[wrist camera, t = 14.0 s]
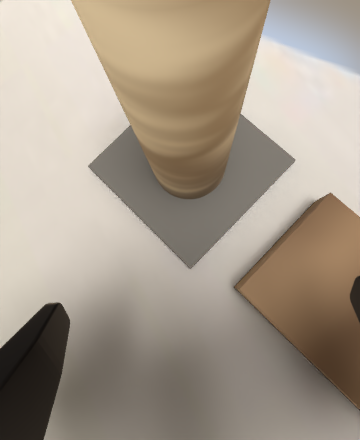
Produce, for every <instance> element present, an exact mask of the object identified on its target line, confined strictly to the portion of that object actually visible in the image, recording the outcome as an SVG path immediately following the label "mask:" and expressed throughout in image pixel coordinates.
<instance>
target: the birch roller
mask: <svg viewBox="0 0 360 440" xmlns="http://www.w3.org/2000/svg"><path fill="white" fill-rule="evenodd" d="M71 1H72V3H73V5H74V8H75V10H76V12H77V14H78V16H79V18H80V20H81V22H82V24H83V26H84V28H85V30H86V33H87V35H88V37H89V39H90V41H91V43H92V45H93V47H94V49H95V51H96V53H97V56H98V58H99V60H100V62H101V64H102V66H103V68H104V70H105V72H106V74H107V76H108V79H109V81H110V83H111V85H112V87H113V89H114V91H115V93H116V95H117V97H118V99H119V102H120V104H121V106H122V108H123V110H124V112H125V114H126V116H127V118H128V120H129V122H130V124H131V127H132V129H133V131H134V133H135V135H136V137H137V139H138V141H139V143H140V145H141V147H142V150H143V152H144V154H145V156H146V158H147V160H148V162H149V164H150V166H151V168H152V170H153V173H154V175H155V177H156V179H157V181H158V182H159V184H160V185H161V187H162V188H163V189H164V190H165V191H166V192H168V193H169V194H171V195H173V196H175V197H178V198H182V199H197V198H200V197H203V196H205V195H207V194H209V193H211V192H212V191H213V190H214V189H215V188H216V187H217V186H218V185H219V184H220V182H221V180H222V178H223V176H224V173H225V169H226V165H227V162H228V158H229V154H230V150H231V147H232V143H233V139H234V135H235V132H236V128H237V124H238V120H239V117H240V113H241V109H242V105H243V102H244V98H245V94H246V90H247V87H248V83H249V79H250V75H251V72H252V68H253V64H254V60H255V57H256V53H257V49H258V45H259V41H260V38H261V34H262V30H263V26H264V22H265V19H266V15H267V11H268V8H269V4H270V0H71Z"/></svg>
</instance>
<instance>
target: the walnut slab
mask: <svg viewBox="0 0 360 440" xmlns="http://www.w3.org/2000/svg"><path fill="white" fill-rule="evenodd" d="M357 276H360V217H359V216H358V215H357V214H355V213H354V212H353V211H352V210H351V209H349V208H348V207H347V206H346V205H345V204H343V203H342V202H341V201H340V200H339V199H338V198H336V197H335V196H334V195H333V194H332V193H329V194H327V195H326V196H324V197H322V198H320V199H319V200H317V201H315V202H314V203H313V204H312V205H311V206H310V207H309V208H308V209H307V210H306V212H305V213H304V214H303V215H302V216H301V217H300V218H299V219H298V220H297V221H296V222H295V223H294V224H293V225H292V226H291V227H290V228H289V230H288V231H287V232H286V233H285V234H284V235H283V236H282V237H281V238H280V239H279V240H278V241H277V242H276V243H275V244H274V245H273V246H272V247H271V249H270V250H269V251H268V252H267V253H266V254H265V255H264V256H263V257H262V258H261V259H260V260H259V261H258V262H257V263H256V264H255V265H254V266H253V268H252V269H251V270H250V271H249V272H248V273H247V274H246V275H245V276H244V277H243V278H242V279H241V280H240V281H239V282H238V283H237V284H236V285H235V287H234V288H235V289H236V290H237V291H238V292H239V293H241V294H242V295H243V296H244V297H245V298H246V299H247V300H248V301H249V302H250V303H251V304H252V305H253V306H254V307H255V308H256V309H257V310H258V311H259V312H260V313H261V314H262V315H263V316H264V317H265V318H266V319H267V320H268V321H269V322H270V323H271V324H272V325H273V326H274V327H275V328H276V329H277V330H278V331H279V332H280V333H281V334H282V335H283V336H284V337H285V338H286V339H288V340H289V341H290V342H291V343H292V344H293V345H294V346H295V347H296V348H297V349H298V350H299V351H300V352H301V353H302V354H303V355H304V356H305V357H306V358H307V359H308V360H309V361H310V362H311V363H312V364H313V365H314V366H315V367H316V368H317V369H318V370H319V371H320V372H321V373H322V374H323V375H324V376H325V377H326V378H327V379H328V380H329V381H330V382H331V383H332V384H334V385H335V386H336V387H337V388H338V389H339V390H340V391H341V392H342V393H343V394H344V395H345V396H346V397H347V398H348V399H349V400H350V401H351V402H352V403H353V404H354V405H355V406H356V407H357V408H358V409H359V410H360V323H359V321H358V318H357V316H356V313H355V311H354V309H353V306H352V304H351V301H350V292H351V289H352V286H353V283H354V280H355V278H356V277H357Z"/></svg>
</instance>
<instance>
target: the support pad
mask: <svg viewBox="0 0 360 440" xmlns="http://www.w3.org/2000/svg"><path fill="white" fill-rule="evenodd" d="M294 161H295V159H294V158H293V157H292V156H290V155H289V154H288V153H287V152H286V151H284V150H283V149H282V148H281V147H280V146H278V145H277V144H276V143H275V142H274V141H273V140H271V139H270V138H269V137H268V136H267V135H265V134H264V133H263V132H262V131H261V130H259V129H258V128H257V127H256V126H255V125H253V124H252V123H251V122H250V121H249V120H247V119H246V118H245V117H244V116H243V115H241V114H240V117H239V120H238V124H237V128H236V132H235V135H234V139H233V143H232V147H231V150H230V154H229V158H228V162H227V165H226V169H225V173H224V176H223V178H222V180H221V182H220V184H219V185H218V186H217V187H216V188H215V189H214V190H213V191H212V192H211V193H209V194H207V195H205V196H203V197H200V198H197V199H182V198H178V197H175V196H173V195H171V194H169V193H168V192H166V191H165V190H164V189H163V188H162V187H161V185H160V184H159V182H158V181H157V179H156V177H155V175H154V173H153V170H152V168H151V166H150V164H149V162H148V160H147V158H146V156H145V154H144V152H143V150H142V147H141V145H140V143H139V141H138V139H137V137H136V135H135V133H134V131H133V129H132V127H131V125H130V126H129V127H128V128H127V129H126V130H125V131H124V132H123V133H122V134H121V135H120V136H119V137H118V138H117V139H116V140H115V141H114V142H113V143H112V144H110V145H109V146H108V147H107V148H106V149H105V150H104V151H103V152H102V153H101V154H100V155H99V156H98V157H97V158H96V159H95V160H94V161H93V162H92V163H91V164H90V165H89V166H88V167H89V168H90V169H91V170H92V171H93V172H94V173H95V174H96V175H97V176H98V177H99V178H100V179H101V180H102V181H103V182H104V183H105V184H106V185H107V186H108V187H109V188H110V189H111V190H112V191H113V192H114V193H115V194H116V195H117V196H118V197H119V198H120V199H121V200H122V201H123V202H124V203H125V204H126V205H127V206H128V207H129V208H130V209H131V210H132V211H133V212H134V213H135V214H136V215H137V216H138V217H139V218H140V219H141V220H142V221H143V222H144V223H145V224H146V225H147V226H148V227H149V228H150V229H151V230H152V231H153V232H154V233H155V234H156V235H157V236H158V237H159V238H160V239H161V240H162V241H163V242H164V243H165V244H166V245H167V246H168V247H169V248H170V249H171V250H172V251H173V252H174V253H175V254H176V255H177V256H178V257H179V258H180V259H181V260H182V261H183V262H184V263H185V264H186V265H187V266H188V267H189V268H190V269H191V268H192V267H193V266H194V265H195V264H196V263H197V262H198V261H199V260H200V259H201V258H202V256H203V255H204V254H205V253H206V252H207V251H208V250H209V249H210V248H211V247H212V246H213V245H214V244H215V243H216V242H217V241H218V240H219V239H220V238H221V237H222V236H223V235H224V234H225V233H226V232H227V231H228V230H229V229H230V228H231V227H232V226H233V225H234V223H235V222H236V221H237V220H238V219H239V218H240V217H241V216H242V215H243V214H244V213H245V212H246V211H247V210H248V209H249V208H250V207H251V206H252V205H253V204H254V203H255V202H256V201H257V200H258V199H259V198H260V197H261V196H262V195H263V194H264V193H265V191H266V190H267V189H268V188H269V187H270V186H271V185H272V184H273V183H274V182H275V181H276V180H277V179H278V178H279V177H280V176H281V175H282V174H283V173H284V172H285V171H286V170H287V169H288V168H289V167H290V166H291V165H292V164H293V163H294Z"/></svg>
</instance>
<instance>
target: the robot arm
mask: <svg viewBox="0 0 360 440" xmlns="http://www.w3.org/2000/svg"><path fill="white" fill-rule="evenodd" d="M350 301H351V304H352V306H353V309H354V311H355V313H356V316H357V318H358V321H359V323H360V276H357V277H356V278H355V280H354V283H353V286H352V289H351V292H350ZM69 328H70V319H69V317H68V315H67V313H66V311H65V309H64V307H63V306H62V304H61V303H58V302H57V303H48V304H46V305H44V306H43V307H42V308H41V309H40V310H39V311H38V312H37V313H36V314H35V315H34V316H33V317H32V318H31V319H30V320H29V321H28V322H27V323H26V324H25V325H24V326H23V327H22V328H21V329H20V330H19V331H18V332H17V333H16V334H15V335H14V336H13V337H12V338H11V339H10V340H9V341H8V342H6V343H5V344H4V345H3V346H2V347H1V348H0V440H44V436H45V432H46V429H47V425H48V422H49V418H50V414H51V411H52V407H53V404H54V400H55V396H56V393H57V389H58V386H59V382H60V378H61V374H62V369H63V363H64V358H65V352H66V346H67V340H68V334H69Z"/></svg>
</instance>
